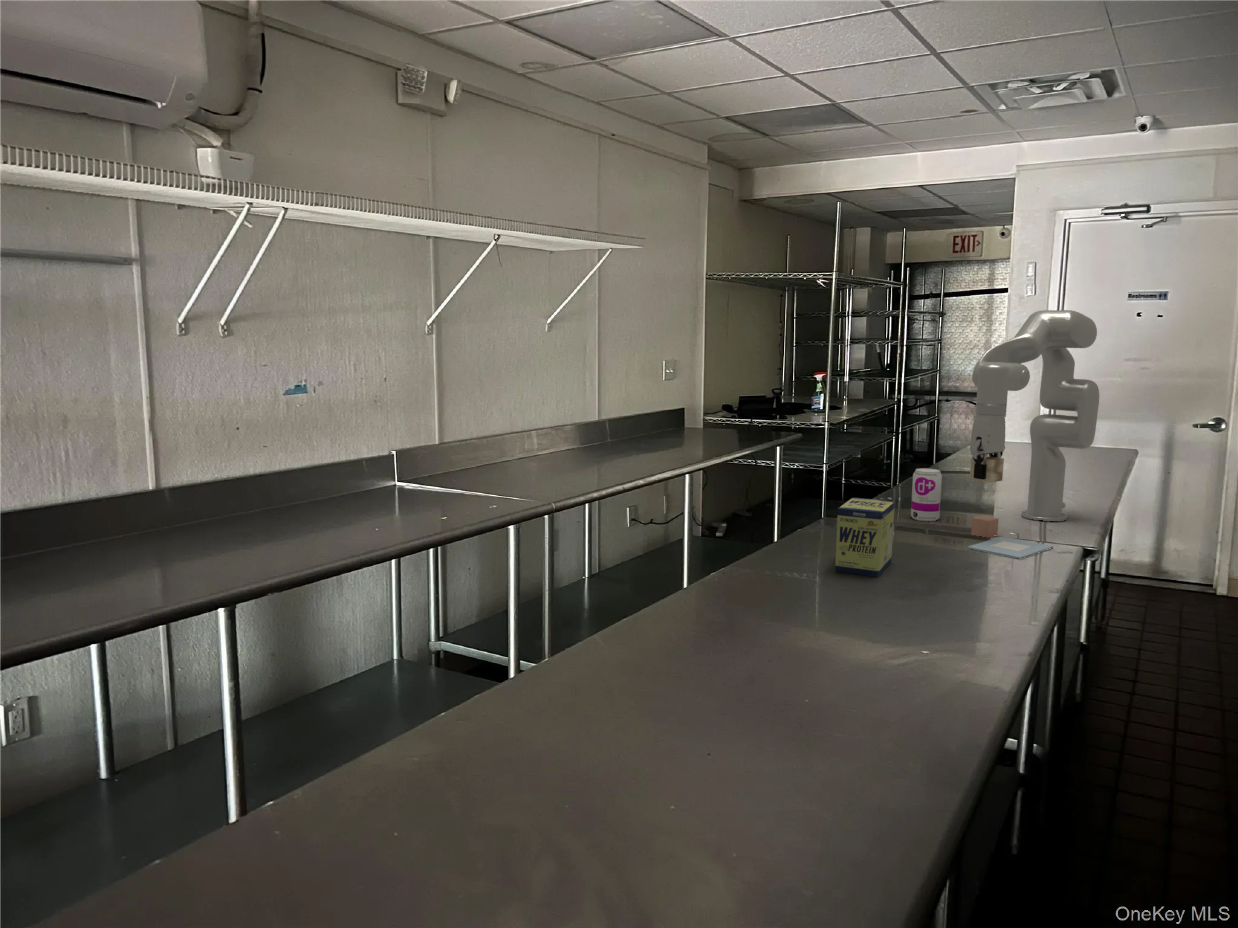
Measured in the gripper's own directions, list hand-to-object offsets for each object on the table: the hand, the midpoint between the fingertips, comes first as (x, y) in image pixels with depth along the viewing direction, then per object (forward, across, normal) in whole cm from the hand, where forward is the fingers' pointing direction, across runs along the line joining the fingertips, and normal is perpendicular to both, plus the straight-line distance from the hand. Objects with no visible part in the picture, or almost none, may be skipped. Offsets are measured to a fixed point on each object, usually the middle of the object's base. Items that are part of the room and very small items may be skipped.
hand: (986, 476), depth 238 cm
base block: (+1, 0, 0) cm, 1 cm away
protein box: (+18, +47, -4) cm, 51 cm away
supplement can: (+18, -12, -25) cm, 33 cm away
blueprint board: (+18, +2, +9) cm, 20 cm away
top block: (+18, -7, -3) cm, 19 cm away
